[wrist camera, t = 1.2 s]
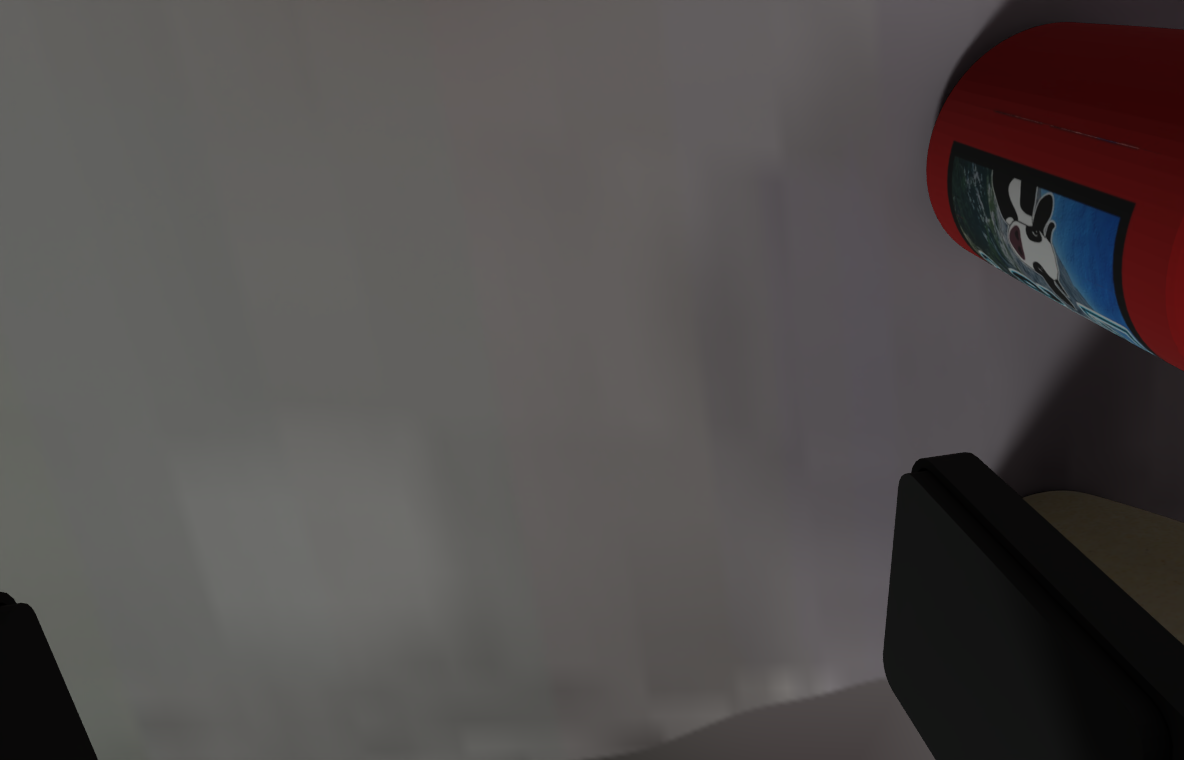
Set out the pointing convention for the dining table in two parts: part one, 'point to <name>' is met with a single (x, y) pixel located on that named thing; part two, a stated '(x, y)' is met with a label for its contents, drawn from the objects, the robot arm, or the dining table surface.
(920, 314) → the dining table surface
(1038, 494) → the plant pot
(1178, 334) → the beverage can
